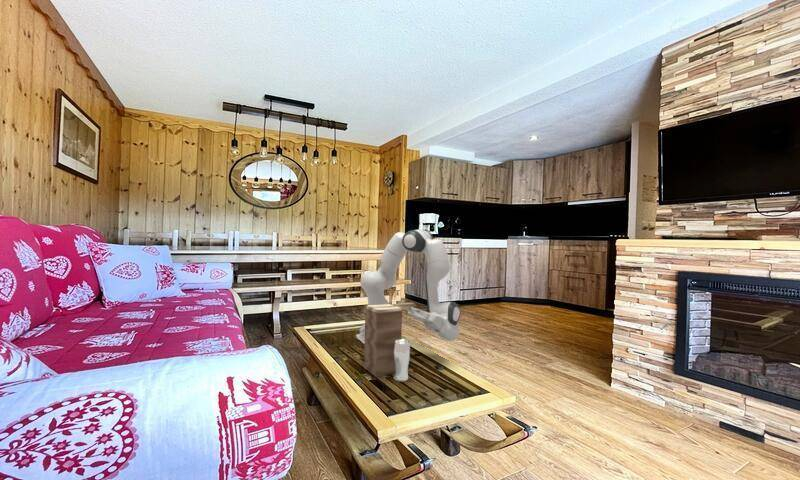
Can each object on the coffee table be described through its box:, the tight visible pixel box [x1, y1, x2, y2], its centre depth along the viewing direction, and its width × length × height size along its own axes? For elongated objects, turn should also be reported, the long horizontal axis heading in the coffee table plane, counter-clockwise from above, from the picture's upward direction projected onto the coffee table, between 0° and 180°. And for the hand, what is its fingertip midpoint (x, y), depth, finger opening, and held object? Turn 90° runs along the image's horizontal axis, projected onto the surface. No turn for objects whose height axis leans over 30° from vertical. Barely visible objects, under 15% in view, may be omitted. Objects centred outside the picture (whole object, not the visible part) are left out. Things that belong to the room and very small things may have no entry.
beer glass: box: [393, 338, 411, 383], centre depth 138 cm, size 7×7×15 cm
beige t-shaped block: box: [366, 302, 416, 313], centre depth 150 cm, size 11×21×2 cm, turn 122°
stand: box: [363, 308, 403, 378], centre depth 147 cm, size 11×12×26 cm
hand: (413, 309), depth 156 cm, fingers open, 8 cm apart
